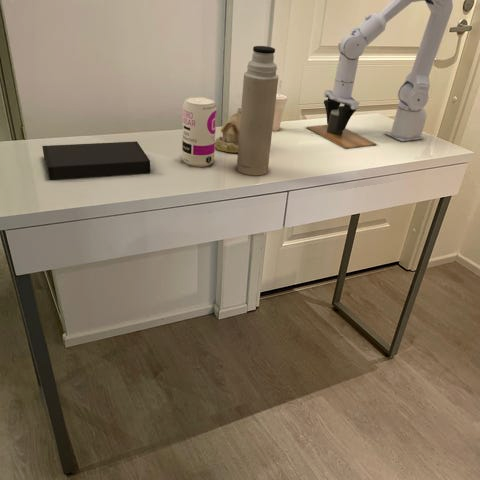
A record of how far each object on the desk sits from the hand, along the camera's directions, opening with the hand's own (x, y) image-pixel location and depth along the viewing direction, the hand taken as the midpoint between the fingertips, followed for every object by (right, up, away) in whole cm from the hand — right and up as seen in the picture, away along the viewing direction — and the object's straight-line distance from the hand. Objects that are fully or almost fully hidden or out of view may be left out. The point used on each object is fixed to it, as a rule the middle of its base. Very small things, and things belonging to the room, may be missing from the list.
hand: (335, 127), depth 158 cm
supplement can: (-41, -20, -28) cm, 53 cm away
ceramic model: (-31, -12, -16) cm, 37 cm away
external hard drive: (-65, -23, -35) cm, 78 cm away
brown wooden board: (+1, -3, -1) cm, 4 cm away
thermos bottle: (-27, -22, -29) cm, 46 cm away
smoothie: (-20, -1, 0) cm, 20 cm away
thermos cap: (0, -1, +1) cm, 2 cm away
